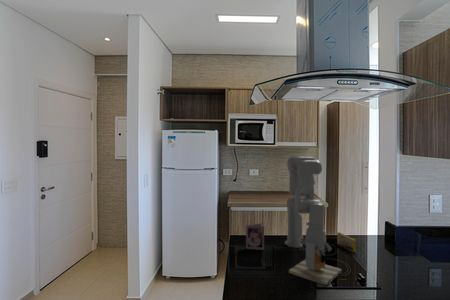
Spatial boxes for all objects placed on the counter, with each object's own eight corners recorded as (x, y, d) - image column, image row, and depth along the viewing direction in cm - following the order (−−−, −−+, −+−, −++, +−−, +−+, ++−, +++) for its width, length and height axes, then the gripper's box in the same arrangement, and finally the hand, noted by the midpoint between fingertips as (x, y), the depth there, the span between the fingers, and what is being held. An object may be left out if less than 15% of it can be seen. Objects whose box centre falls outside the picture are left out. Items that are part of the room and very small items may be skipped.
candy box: (336, 244, 194) (337, 232, 194) (339, 244, 195) (339, 232, 195) (353, 253, 179) (353, 240, 179) (356, 253, 179) (356, 239, 179)
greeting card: (245, 249, 183) (246, 225, 182) (246, 245, 190) (246, 222, 190) (264, 250, 181) (264, 226, 181) (263, 246, 188) (264, 223, 188)
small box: (314, 270, 146) (314, 245, 146) (305, 266, 152) (305, 241, 151) (325, 267, 150) (326, 243, 150) (316, 263, 155) (316, 239, 155)
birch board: (305, 261, 165) (305, 258, 165) (341, 272, 152) (341, 269, 152) (288, 272, 150) (288, 270, 150) (326, 285, 136) (326, 282, 136)
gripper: (297, 224, 153) (296, 257, 154) (330, 231, 142) (329, 266, 142) (303, 221, 159) (303, 253, 159) (335, 228, 147) (334, 262, 148)
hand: (315, 259), depth 151 cm, fingers closed on small box, 7 cm apart
